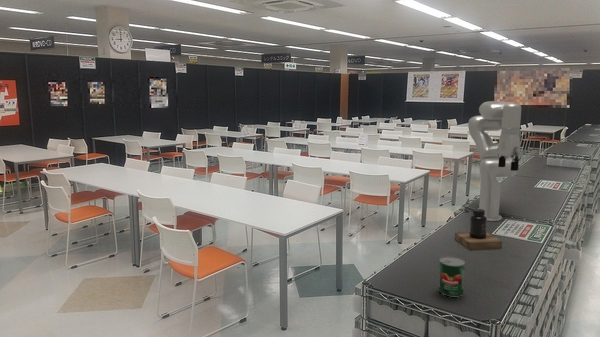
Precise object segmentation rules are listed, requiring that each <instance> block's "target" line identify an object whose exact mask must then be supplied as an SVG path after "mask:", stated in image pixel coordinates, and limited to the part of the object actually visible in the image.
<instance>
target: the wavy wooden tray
mask: <svg viewBox="0 0 600 337" xmlns="http://www.w3.org/2000/svg"><path fill="white" fill-rule="evenodd" d="M454 240H456V241H457V242H458V243H459V244H461V245H462V246H464V247H466V248H467V249H468V250H469V251H478V250H496V249H503V240H500V239H499V238H497V237H496V236H494V235H493V234H490V233H489V232H487V233H486V238H483V239H476V238H472V237H471V236H470V231H461V232H454Z"/></svg>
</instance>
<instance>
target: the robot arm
mask: <svg viewBox="0 0 600 337" xmlns="http://www.w3.org/2000/svg"><path fill="white" fill-rule="evenodd" d="M478 111H479V112H478V113H479V114H480V115H474V116H472V117H470V118H469V120H468V123H467V124H468V125H467V127H468V132H469V135H470V137H471V138H472V140H473V142H474V143H475V147H476V150H477V154H478V156H479V159H480V160H481V161H480V162H479V175H480V185H479V186H480V187H479V188H480V190H479V205H478V206H479V207H477V209H483V210H485V215H484V216H486V218H487V222H500V221H501V220H502V219H503V216H502V215H501V214H500V203H501V201H500V200H501V184H500V182H499V181H498V179H496V178H512V177H514V176H516V174H517V173H518V171H519V165H520V164H519V163H520V161H521V157H522V155H523V153H522V152H521V150H520V148H521V147H520V146H521V145H520V144H521V140H520V134H521V119H522V118H521V117H522V106H521V104H520V103H514V102H510V103H509V102H507V101H505V100H500V101H499V100H493V101H492V100H490V101H485V102H482V104H480V106H479V108H478ZM487 131H488V132H492V131H494V132H495V131H496V132H497V131H501V132H500V136H499V140H498V143H495V142H493V138H492V137H491V136H490V135H489V134H488V133H487Z"/></svg>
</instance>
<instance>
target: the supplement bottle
mask: <svg viewBox="0 0 600 337" xmlns="http://www.w3.org/2000/svg"><path fill="white" fill-rule="evenodd" d="M484 215H485V210H483V209H478V208H473V209H472V215H471V216H470V217H469V232H470V236H471V237H472V238H476V239H483V238H486V233H488V232H487V230H488V221H487V218H486V216H484Z"/></svg>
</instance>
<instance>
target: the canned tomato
mask: <svg viewBox="0 0 600 337" xmlns="http://www.w3.org/2000/svg"><path fill="white" fill-rule="evenodd" d="M438 260H439V263H438V264H439V266H438V268H439V269H438V271H439V272H438V290H440V291H441V292H442V293H444V294H446V295H449V296H462V295H463V294H464V291H465V290H464V289H465V288H464V287H465V270H466V268H465V265H466V261H465V260H464V259H462V258H459V257H458V256H457V257H456V256H442V257H440V258H439V259H438ZM463 296H464V295H463ZM463 296H462V297H463Z"/></svg>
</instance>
